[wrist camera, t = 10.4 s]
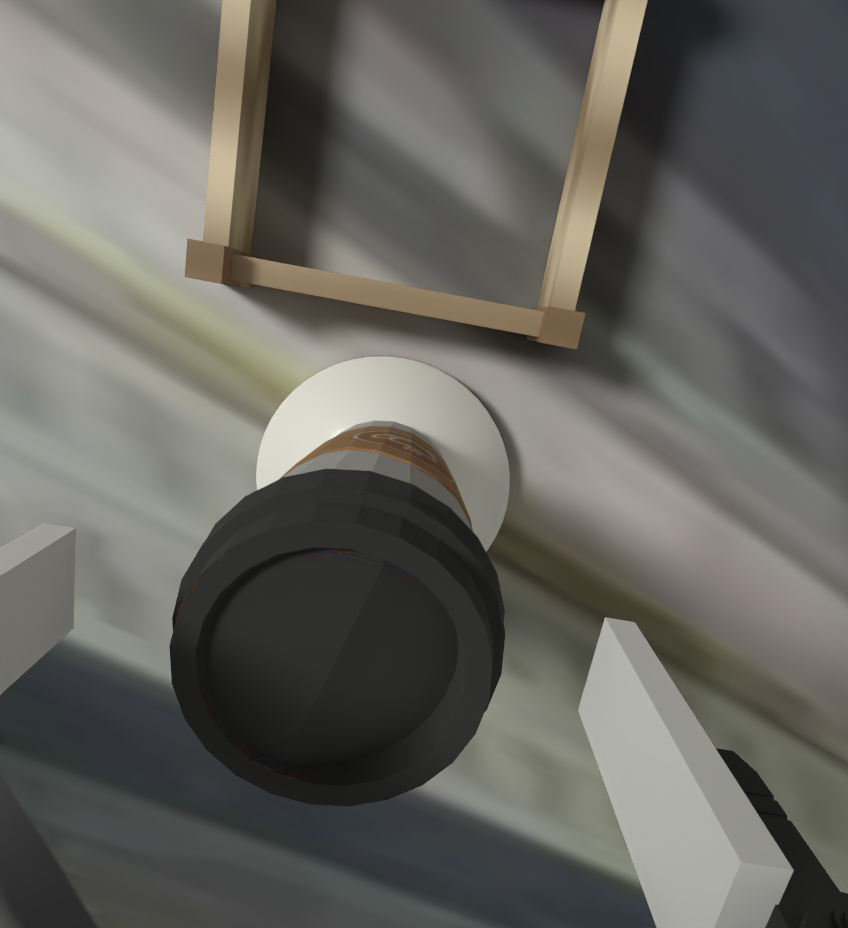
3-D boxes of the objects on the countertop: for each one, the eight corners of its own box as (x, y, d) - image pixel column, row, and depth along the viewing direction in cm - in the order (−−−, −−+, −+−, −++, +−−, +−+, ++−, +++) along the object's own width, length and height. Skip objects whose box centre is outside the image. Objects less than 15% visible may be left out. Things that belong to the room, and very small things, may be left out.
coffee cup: (502, 444, 27) (585, 594, 13) (424, 592, 29) (419, 871, 15) (336, 365, 26) (222, 429, 12) (268, 523, 28) (96, 746, 14)
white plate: (276, 334, 27) (271, 334, 26) (532, 380, 27) (535, 382, 26) (248, 572, 30) (244, 578, 29) (480, 611, 30) (482, 619, 29)
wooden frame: (258, -128, 23) (221, -220, 19) (646, -48, 23) (689, -122, 19) (221, 283, 26) (184, 277, 22) (555, 344, 27) (576, 349, 23)
